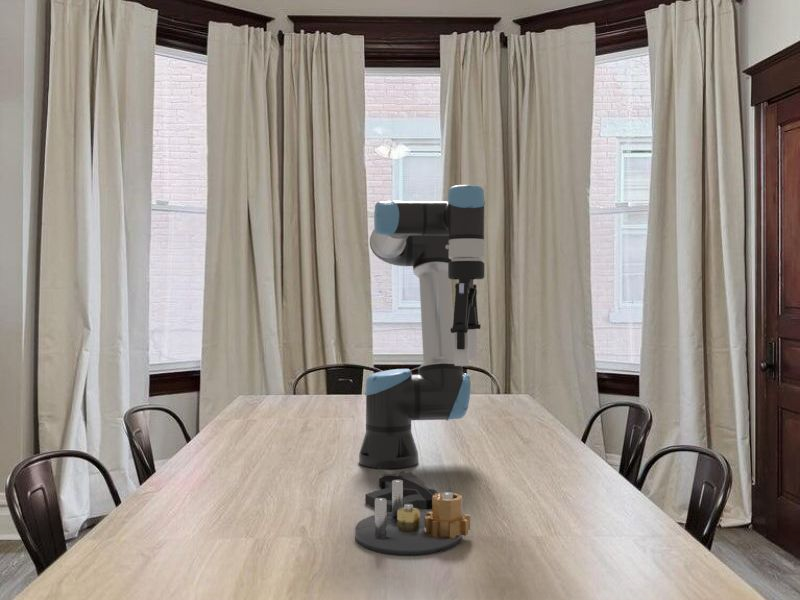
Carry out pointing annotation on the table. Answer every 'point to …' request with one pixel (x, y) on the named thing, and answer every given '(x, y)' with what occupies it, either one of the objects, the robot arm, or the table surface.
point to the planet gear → (447, 517)
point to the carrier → (401, 528)
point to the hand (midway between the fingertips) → (466, 362)
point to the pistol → (412, 491)
